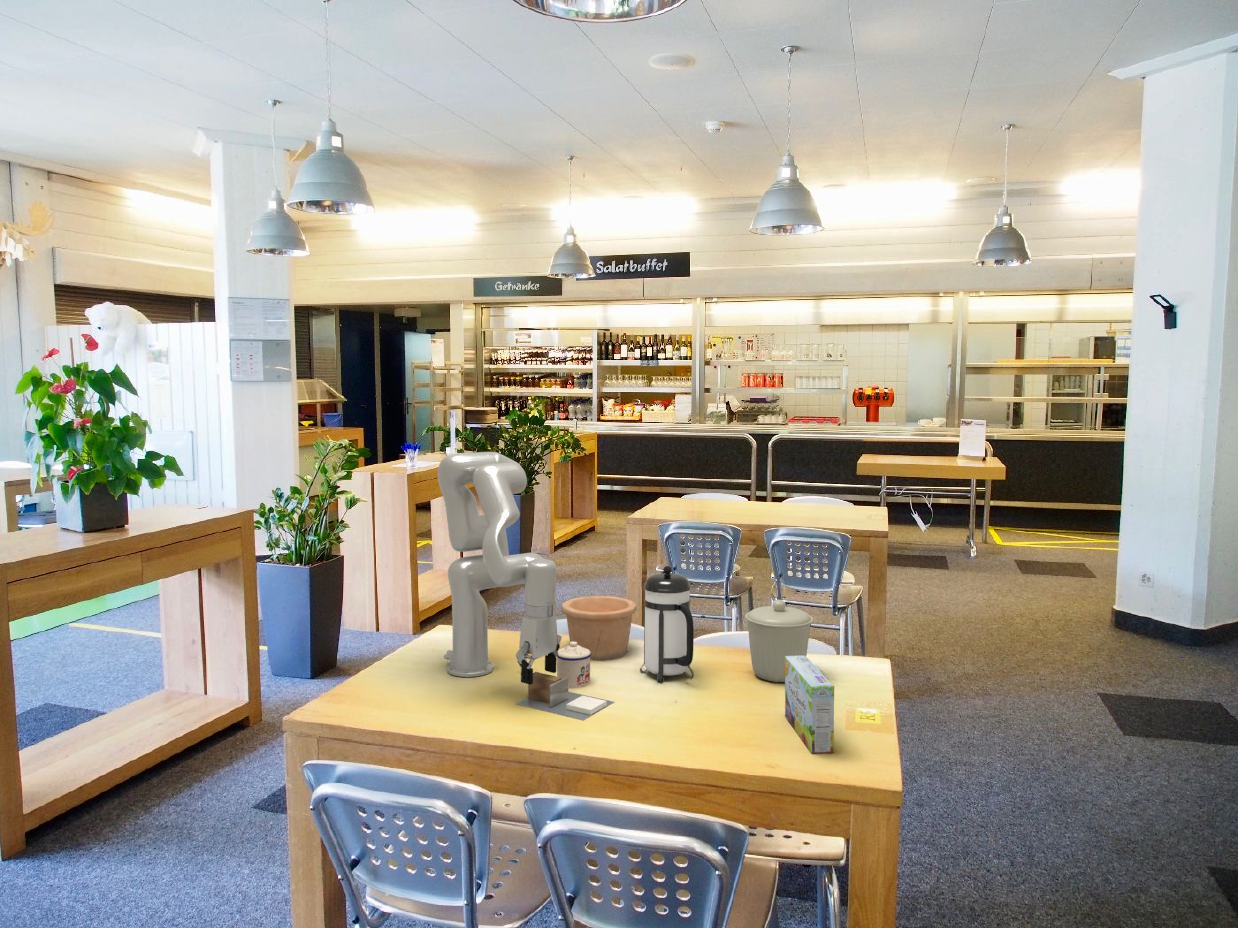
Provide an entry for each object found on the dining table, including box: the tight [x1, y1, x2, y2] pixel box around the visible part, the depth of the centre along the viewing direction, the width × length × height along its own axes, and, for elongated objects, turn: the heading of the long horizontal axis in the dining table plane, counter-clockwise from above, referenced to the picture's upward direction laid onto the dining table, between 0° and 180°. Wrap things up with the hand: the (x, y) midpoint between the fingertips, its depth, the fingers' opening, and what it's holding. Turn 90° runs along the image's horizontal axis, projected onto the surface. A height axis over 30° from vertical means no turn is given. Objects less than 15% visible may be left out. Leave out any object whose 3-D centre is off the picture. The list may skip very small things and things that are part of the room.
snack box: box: [784, 655, 835, 755], centre depth 193 cm, size 21×6×15 cm, turn 5°
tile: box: [566, 695, 607, 716], centre depth 206 cm, size 1×7×7 cm
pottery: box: [561, 595, 638, 661], centre depth 254 cm, size 22×22×14 cm
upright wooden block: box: [527, 671, 569, 707], centre depth 211 cm, size 8×7×6 cm
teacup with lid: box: [556, 641, 591, 689], centre depth 226 cm, size 12×9×12 cm
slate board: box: [515, 691, 615, 721], centre depth 210 cm, size 20×14×1 cm
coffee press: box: [639, 565, 695, 684], centre depth 232 cm, size 17×16×30 cm
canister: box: [744, 599, 814, 683], centre depth 232 cm, size 18×18×21 cm
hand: (538, 677), depth 212 cm, fingers open, 9 cm apart
